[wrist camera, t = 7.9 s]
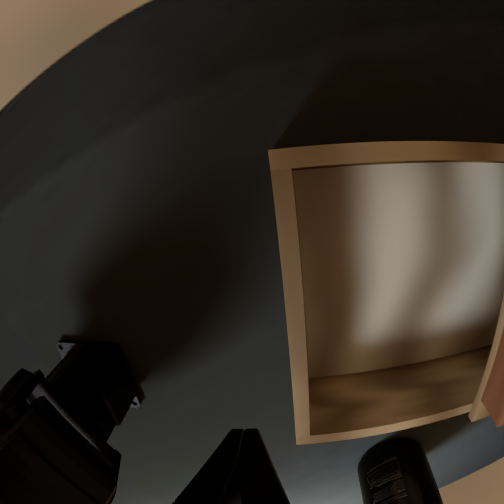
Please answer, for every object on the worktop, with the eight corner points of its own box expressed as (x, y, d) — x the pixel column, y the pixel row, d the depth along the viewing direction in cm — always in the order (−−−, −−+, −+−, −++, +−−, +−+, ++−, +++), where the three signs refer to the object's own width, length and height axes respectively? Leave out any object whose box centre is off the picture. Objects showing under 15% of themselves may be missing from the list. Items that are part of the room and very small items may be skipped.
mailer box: (294, 383, 22) (296, 444, 16) (271, 150, 17) (267, 150, 12) (500, 344, 20) (536, 385, 14) (521, 146, 15) (579, 153, 10)
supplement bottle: (354, 479, 26) (366, 574, 15) (359, 443, 24) (378, 556, 13) (415, 466, 25) (439, 554, 14) (428, 428, 23) (465, 529, 12)
